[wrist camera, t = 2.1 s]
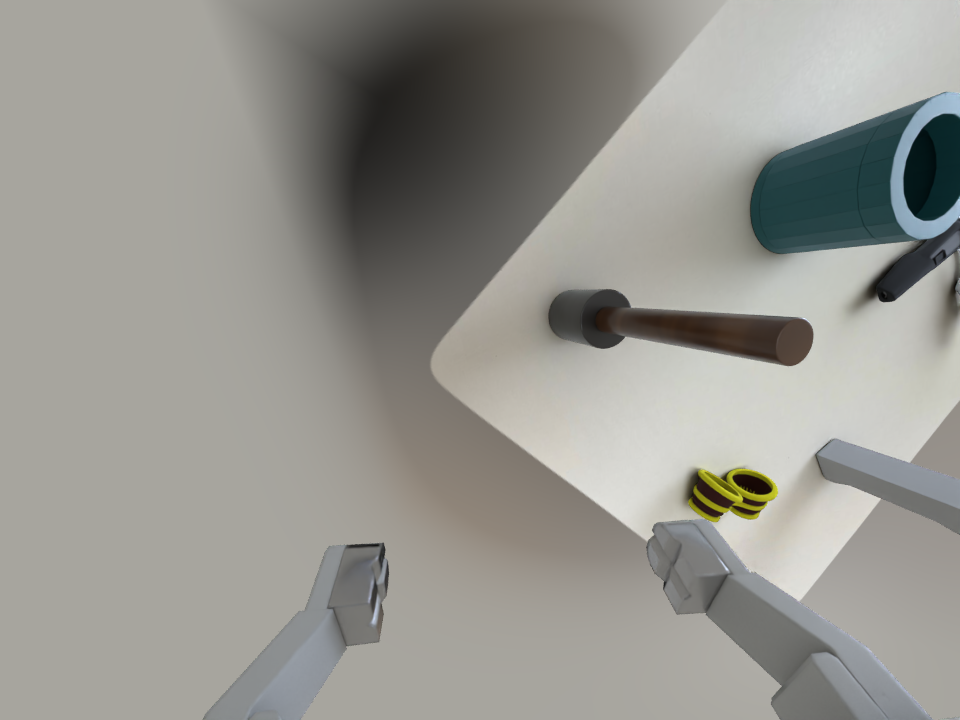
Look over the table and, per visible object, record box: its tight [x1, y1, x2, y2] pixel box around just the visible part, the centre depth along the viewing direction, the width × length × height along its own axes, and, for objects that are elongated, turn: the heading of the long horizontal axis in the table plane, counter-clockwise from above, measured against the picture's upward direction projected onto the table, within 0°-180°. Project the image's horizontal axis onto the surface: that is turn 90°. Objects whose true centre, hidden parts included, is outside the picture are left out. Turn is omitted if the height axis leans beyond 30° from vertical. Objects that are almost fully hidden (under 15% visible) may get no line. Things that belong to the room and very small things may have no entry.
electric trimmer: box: [876, 218, 960, 302], centre depth 43 cm, size 4×16×3 cm, turn 126°
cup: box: [751, 92, 960, 254], centre depth 33 cm, size 11×11×11 cm
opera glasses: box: [688, 469, 778, 522], centre depth 42 cm, size 10×5×5 cm, turn 83°
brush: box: [549, 289, 813, 366], centre depth 25 cm, size 5×5×20 cm
